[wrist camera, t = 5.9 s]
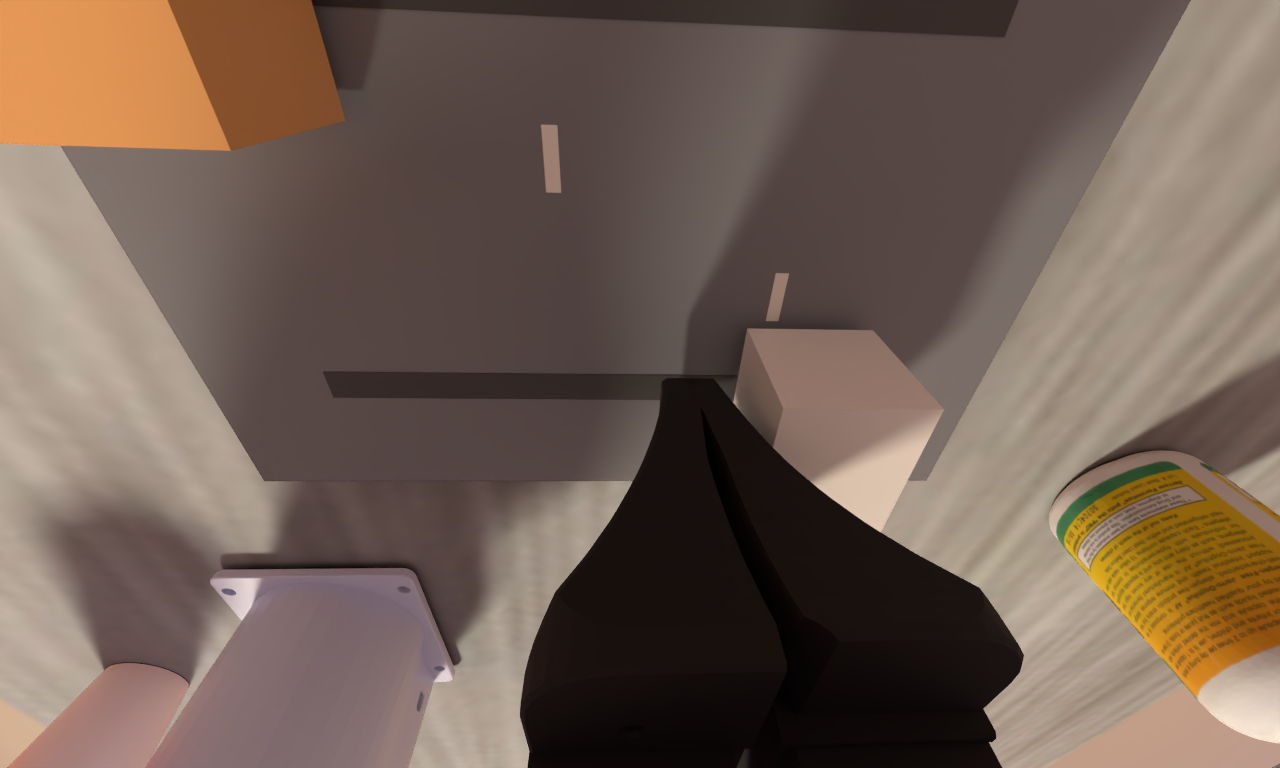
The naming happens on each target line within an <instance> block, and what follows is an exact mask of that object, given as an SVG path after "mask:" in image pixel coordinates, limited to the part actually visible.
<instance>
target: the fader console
mask: <svg viewBox="0 0 1280 768" xmlns="http://www.w3.org/2000/svg"><path fill="white" fill-rule="evenodd" d="M311 1H312V5H313V8H314V12H315V15H316V19H317V22H318V26H319V29H320V33H321V36H322V40H323V43H324V47H325V50H326V54H327V57H328V61H329V64H330V68H331V71H332V75H333V78H334V82H335V85H336V89H337V92H338V96H339V99H340V103H341V106H342V110H343V113H344V117H345V120H346V121H343V122H339V123H335V124H332V125H328V126H324V127H320V128H316V129H312V130H309V131H305V132H301V133H297V134H293V135H290V136H286V137H282V138H278V139H274V140H270V141H267V142H263V143H259V144H255V145H251V146H247V147H244V148H240V149H236V150H232V151H221V150H189V149H157V148H124V147H92V146H61V147H62V149H63V151H64V152H65V154H66V156H67V157H68V159H69V161H70V162H71V164H72V165H73V167H74V169H75V170H76V172H77V174H78V175H79V177H80V179H81V180H82V182H83V184H84V185H85V187H86V189H87V190H88V192H89V193H90V195H91V197H92V198H93V200H94V202H95V203H96V205H97V207H98V208H99V210H100V212H101V213H102V215H103V216H104V218H105V220H106V221H107V223H108V225H109V226H110V228H111V230H112V231H113V233H114V235H115V236H116V238H117V239H118V241H119V243H120V244H121V246H122V248H123V249H124V251H125V253H126V254H127V256H128V258H129V259H130V261H131V263H132V264H133V266H134V267H135V269H136V271H137V272H138V274H139V276H140V277H141V279H142V281H143V282H144V284H145V286H146V287H147V289H148V290H149V292H150V294H151V295H152V297H153V299H154V300H155V302H156V304H157V305H158V307H159V309H160V310H161V312H162V314H163V315H164V317H165V318H166V320H167V322H168V323H169V325H170V327H171V328H172V330H173V332H174V333H175V335H176V337H177V338H178V340H179V341H180V343H181V345H182V346H183V348H184V350H185V351H186V353H187V355H188V356H189V358H190V360H191V361H192V363H193V365H194V366H195V368H196V369H197V371H198V373H199V374H200V376H201V378H202V379H203V381H204V383H205V384H206V386H207V388H208V389H209V391H210V392H211V394H212V396H213V397H214V399H215V401H216V402H217V404H218V406H219V407H220V409H221V411H222V412H223V414H224V416H225V417H226V419H227V420H228V422H229V424H230V425H231V427H232V429H233V430H234V432H235V434H236V435H237V437H238V439H239V440H240V442H241V443H242V445H243V447H244V448H245V450H246V452H247V453H248V455H249V457H250V458H251V460H252V462H253V463H254V465H255V467H256V468H257V470H258V471H259V473H260V475H261V476H262V478H263V480H264V481H633V480H634V478H635V476H636V475H637V472H638V470H639V468H640V466H641V464H642V462H643V459H644V457H645V454H646V452H647V449H648V447H649V444H650V441H651V439H652V436H653V433H654V430H655V427H656V423H657V420H658V416H659V408H660V394H661V382H662V381H663V380H665V379H666V378H714V380H715V381H716V382H717V383H718V384H719V385H720V387H721V388H722V389H723V390H724V392H725V393H726V394H727V396H728V397H729V398H730V399H731V401H732V402H733V401H734V396H735V391H736V385H737V380H738V375H739V369H740V364H741V359H742V353H743V348H744V343H745V337H746V332H747V328H754V329H822V330H873V331H874V332H875V333H876V334H877V335H878V336H879V337H880V339H881V340H882V341H883V342H884V343H885V344H886V345H887V346H888V347H889V349H890V350H891V351H892V352H893V353H894V354H895V355H896V356H897V357H898V359H899V360H900V361H901V362H902V363H903V364H904V365H905V366H906V367H907V369H908V370H909V371H910V372H911V373H912V374H913V375H914V376H915V377H916V379H917V380H918V381H919V382H920V383H921V384H922V385H923V386H924V388H925V389H926V390H927V391H928V392H929V393H930V394H931V395H932V396H933V398H934V399H935V400H936V401H937V402H938V403H939V404H940V405H941V406H942V408H943V409H944V411H943V413H942V415H941V417H940V419H939V421H938V423H937V424H936V426H935V428H934V430H933V432H932V434H931V436H930V438H929V440H928V442H927V444H926V446H925V448H924V450H923V451H922V453H921V455H920V457H919V459H918V461H917V463H916V465H915V467H914V469H913V471H912V473H911V475H910V477H909V479H908V480H907V481H926V480H927V478H928V477H929V475H930V473H931V471H932V469H933V467H934V466H935V464H936V462H937V460H938V458H939V457H940V455H941V453H942V451H943V449H944V447H945V446H946V444H947V442H948V440H949V438H950V437H951V435H952V433H953V431H954V429H955V427H956V426H957V424H958V422H959V420H960V418H961V417H962V415H963V413H964V411H965V409H966V407H967V406H968V404H969V402H970V400H971V398H972V397H973V395H974V393H975V391H976V389H977V388H978V386H979V384H980V382H981V380H982V378H983V377H984V375H985V373H986V371H987V369H988V368H989V366H990V364H991V362H992V360H993V358H994V357H995V355H996V353H997V351H998V349H999V348H1000V346H1001V344H1002V342H1003V340H1004V338H1005V337H1006V335H1007V333H1008V331H1009V329H1010V328H1011V326H1012V324H1013V322H1014V320H1015V318H1016V317H1017V315H1018V313H1019V311H1020V309H1021V308H1022V306H1023V304H1024V302H1025V300H1026V299H1027V297H1028V295H1029V293H1030V291H1031V289H1032V288H1033V286H1034V284H1035V282H1036V280H1037V279H1038V277H1039V275H1040V273H1041V271H1042V269H1043V268H1044V266H1045V264H1046V262H1047V260H1048V259H1049V257H1050V255H1051V253H1052V251H1053V249H1054V248H1055V246H1056V244H1057V242H1058V240H1059V239H1060V237H1061V235H1062V233H1063V231H1064V229H1065V228H1066V226H1067V224H1068V222H1069V220H1070V219H1071V217H1072V215H1073V213H1074V211H1075V210H1076V208H1077V206H1078V204H1079V202H1080V200H1081V199H1082V197H1083V195H1084V193H1085V191H1086V190H1087V188H1088V186H1089V184H1090V182H1091V180H1092V179H1093V177H1094V175H1095V173H1096V171H1097V170H1098V168H1099V166H1100V164H1101V162H1102V160H1103V159H1104V157H1105V155H1106V153H1107V151H1108V150H1109V148H1110V146H1111V144H1112V142H1113V140H1114V139H1115V137H1116V135H1117V133H1118V131H1119V130H1120V128H1121V126H1122V124H1123V122H1124V121H1125V119H1126V117H1127V115H1128V113H1129V111H1130V110H1131V108H1132V106H1133V104H1134V102H1135V101H1136V99H1137V97H1138V95H1139V93H1140V91H1141V90H1142V88H1143V86H1144V84H1145V82H1146V81H1147V79H1148V77H1149V75H1150V73H1151V71H1152V70H1153V68H1154V66H1155V64H1156V62H1157V61H1158V59H1159V57H1160V55H1161V53H1162V51H1163V50H1164V48H1165V46H1166V44H1167V42H1168V41H1169V39H1170V37H1171V35H1172V33H1173V32H1174V30H1175V28H1176V26H1177V24H1178V22H1179V21H1180V19H1181V17H1182V15H1183V13H1184V12H1185V10H1186V8H1187V6H1188V4H1189V2H1190V1H1191V0H311Z"/></svg>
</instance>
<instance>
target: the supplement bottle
mask: <svg viewBox="0 0 1280 768" xmlns="http://www.w3.org/2000/svg"><path fill="white" fill-rule="evenodd" d="M1049 525H1050V528H1051V531H1052V532H1053V534H1054V535H1055V537H1056V538H1057V539H1058V540H1059V541H1060V543H1061V544H1062V545H1063V546H1064V547H1065V549H1066V550H1067V551H1068V552H1069V554H1070V555H1071V556H1072V557H1073V558H1074V559H1075V560H1076V561H1077V563H1078V564H1079V565H1080V566H1081V567H1082V568H1083V569H1084V571H1085V572H1086V573H1087V574H1088V575H1089V576H1090V577H1091V579H1092V580H1093V581H1094V582H1095V583H1096V584H1097V585H1098V587H1099V588H1100V589H1101V590H1102V591H1103V592H1104V593H1105V594H1106V596H1107V597H1108V598H1109V599H1110V600H1111V601H1112V602H1113V603H1114V605H1115V606H1116V607H1117V608H1118V609H1119V610H1120V612H1121V613H1122V614H1123V615H1124V616H1125V617H1126V618H1127V619H1128V620H1129V621H1130V622H1131V624H1132V625H1133V626H1134V627H1135V628H1136V630H1137V631H1138V632H1139V633H1140V634H1141V635H1142V637H1143V638H1144V639H1145V640H1146V641H1147V642H1148V643H1149V644H1150V645H1151V647H1152V648H1153V649H1154V650H1155V651H1156V652H1157V653H1158V655H1159V656H1160V657H1161V658H1162V659H1163V660H1164V662H1165V663H1166V664H1167V665H1168V666H1169V667H1170V669H1171V670H1172V671H1173V672H1174V673H1175V674H1176V676H1177V677H1178V678H1179V679H1180V680H1181V682H1182V683H1183V684H1184V685H1185V686H1186V687H1187V688H1188V690H1189V691H1190V692H1191V693H1192V694H1193V695H1194V697H1195V698H1196V699H1197V700H1198V701H1199V702H1200V703H1201V704H1202V705H1203V706H1204V707H1205V708H1206V709H1207V710H1208V711H1209V712H1210V713H1211V714H1212V715H1213V716H1214V717H1216V718H1217V719H1218V720H1220V721H1221V722H1222V723H1224V724H1225V725H1227V726H1228V727H1230V728H1232V729H1234V730H1236V731H1238V732H1240V733H1242V734H1245V735H1247V736H1250V737H1253V738H1256V739H1259V740H1263V741H1268V742H1274V743H1280V516H1279V515H1278V514H1276V513H1275V512H1273V511H1272V510H1271V509H1269V508H1268V507H1267V506H1265V505H1264V504H1263V503H1261V502H1260V501H1259V500H1257V499H1256V498H1254V497H1253V496H1252V495H1250V494H1249V493H1248V492H1246V491H1245V490H1243V489H1242V488H1240V487H1239V486H1237V485H1236V484H1235V483H1233V482H1232V481H1230V480H1229V479H1228V478H1226V477H1225V476H1223V475H1222V474H1220V473H1219V472H1218V471H1216V470H1214V469H1213V468H1211V467H1210V466H1209V465H1207V464H1206V463H1204V462H1203V461H1201V460H1199V459H1198V458H1196V457H1194V456H1191V455H1188V454H1185V453H1182V452H1176V451H1165V450H1160V451H1148V452H1142V453H1136V454H1132V455H1129V456H1126V457H1123V458H1120V459H1118V460H1115V461H1112V462H1109V463H1106V464H1104V465H1101V466H1099V467H1097V468H1095V469H1093V470H1091V471H1089V472H1087V473H1085V474H1084V475H1082V476H1080V477H1079V478H1077V479H1076V480H1074V481H1073V482H1072V483H1071V484H1069V485H1068V486H1067V487H1066V488H1065V489H1064V490H1063V491H1062V492H1061V493H1060V495H1059V496H1058V497H1057V499H1056V500H1055V502H1054V504H1053V506H1052V507H1051V510H1050V513H1049Z"/></svg>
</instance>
